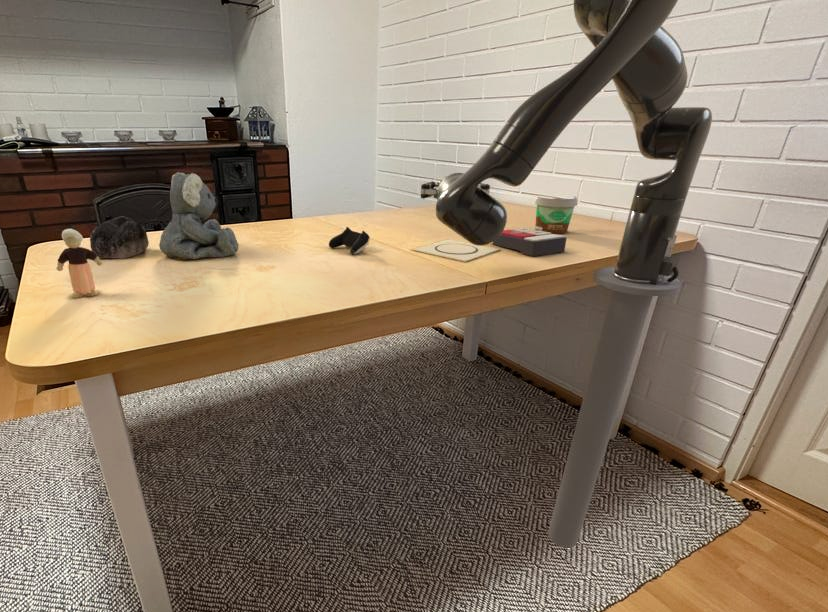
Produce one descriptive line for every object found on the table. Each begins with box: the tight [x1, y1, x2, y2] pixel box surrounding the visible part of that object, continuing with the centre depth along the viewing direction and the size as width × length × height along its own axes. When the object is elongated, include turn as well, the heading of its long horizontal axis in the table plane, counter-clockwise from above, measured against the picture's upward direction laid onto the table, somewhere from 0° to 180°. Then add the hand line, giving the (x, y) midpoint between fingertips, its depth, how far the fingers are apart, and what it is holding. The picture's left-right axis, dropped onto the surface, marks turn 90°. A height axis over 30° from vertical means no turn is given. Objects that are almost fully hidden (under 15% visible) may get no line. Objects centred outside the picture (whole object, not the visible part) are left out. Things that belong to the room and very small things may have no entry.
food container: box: [534, 195, 578, 235], centre depth 137 cm, size 12×6×10 cm, turn 95°
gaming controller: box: [328, 226, 371, 255], centre depth 121 cm, size 11×4×7 cm
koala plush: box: [158, 171, 239, 260], centre depth 115 cm, size 17×18×20 cm
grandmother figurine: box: [56, 228, 104, 299], centre depth 88 cm, size 8×4×13 cm, turn 126°
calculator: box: [492, 227, 567, 257], centre depth 122 cm, size 11×4×15 cm
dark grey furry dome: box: [89, 215, 150, 259], centre depth 118 cm, size 13×14×10 cm
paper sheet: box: [412, 238, 501, 263], centre depth 121 cm, size 16×16×1 cm
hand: (450, 185), depth 100 cm, fingers closed on dot stamp, 3 cm apart
